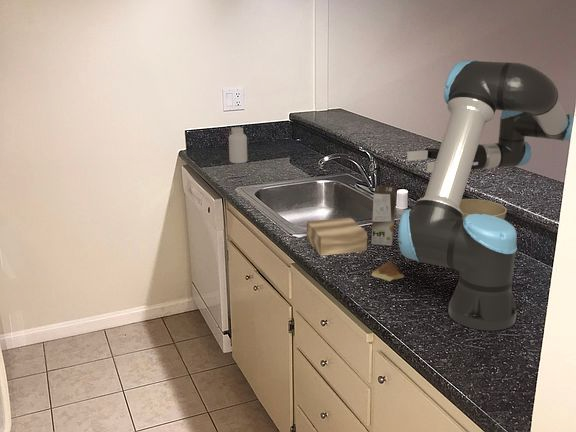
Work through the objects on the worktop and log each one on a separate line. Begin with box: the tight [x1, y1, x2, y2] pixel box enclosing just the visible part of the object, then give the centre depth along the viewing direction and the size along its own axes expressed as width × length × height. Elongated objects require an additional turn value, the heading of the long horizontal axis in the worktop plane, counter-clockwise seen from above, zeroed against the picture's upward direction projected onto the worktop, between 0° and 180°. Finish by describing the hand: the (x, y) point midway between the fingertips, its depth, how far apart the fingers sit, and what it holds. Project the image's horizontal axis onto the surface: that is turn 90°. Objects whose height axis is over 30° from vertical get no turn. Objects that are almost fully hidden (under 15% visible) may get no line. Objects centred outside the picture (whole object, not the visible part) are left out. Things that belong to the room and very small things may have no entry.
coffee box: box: [370, 184, 397, 246], centre depth 198 cm, size 9×6×16 cm
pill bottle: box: [228, 126, 248, 164], centre depth 290 cm, size 8×8×15 cm
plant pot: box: [459, 198, 508, 220], centre depth 182 cm, size 15×15×16 cm
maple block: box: [306, 217, 368, 256], centre depth 196 cm, size 14×14×6 cm
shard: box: [371, 259, 405, 282], centre depth 177 cm, size 11×8×2 cm
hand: (417, 161), depth 196 cm, fingers open, 13 cm apart
